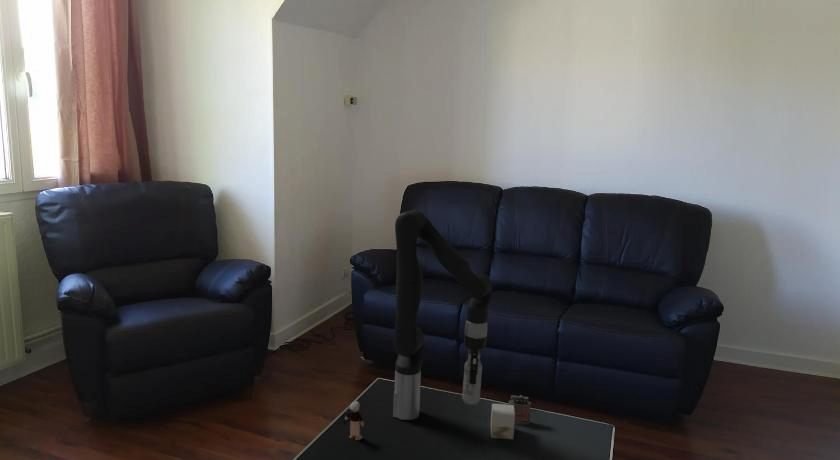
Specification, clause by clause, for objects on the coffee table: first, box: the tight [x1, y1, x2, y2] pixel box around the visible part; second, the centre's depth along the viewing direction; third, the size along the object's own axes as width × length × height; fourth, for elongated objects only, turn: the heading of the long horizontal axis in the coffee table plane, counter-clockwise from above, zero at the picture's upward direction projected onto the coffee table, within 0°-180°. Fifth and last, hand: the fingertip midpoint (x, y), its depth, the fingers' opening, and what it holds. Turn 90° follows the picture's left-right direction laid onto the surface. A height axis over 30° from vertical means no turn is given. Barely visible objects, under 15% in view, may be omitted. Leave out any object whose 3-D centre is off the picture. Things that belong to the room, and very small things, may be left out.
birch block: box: [490, 418, 515, 440], centre depth 210 cm, size 8×8×4 cm
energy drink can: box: [461, 357, 483, 406], centre depth 207 cm, size 6×6×15 cm
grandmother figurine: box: [344, 401, 365, 441], centre depth 203 cm, size 8×4×13 cm, turn 71°
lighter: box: [507, 394, 532, 425], centre depth 217 cm, size 8×3×10 cm, turn 84°
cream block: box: [490, 403, 515, 429], centre depth 209 cm, size 8×8×4 cm
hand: (472, 379), depth 207 cm, fingers closed on energy drink can, 6 cm apart
